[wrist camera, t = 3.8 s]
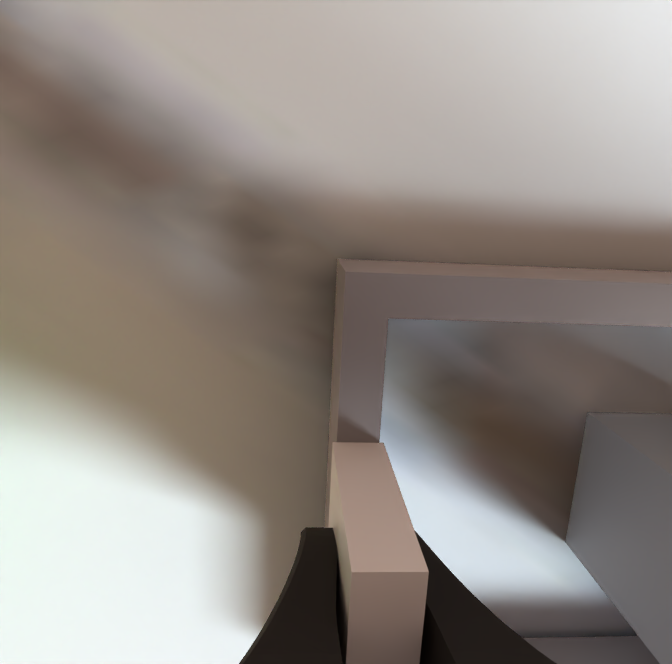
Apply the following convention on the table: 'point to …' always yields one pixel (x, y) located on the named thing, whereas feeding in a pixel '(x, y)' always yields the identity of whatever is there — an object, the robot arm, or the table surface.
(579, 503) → the grey block
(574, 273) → the grey square tray
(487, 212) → the table surface
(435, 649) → the robot arm
